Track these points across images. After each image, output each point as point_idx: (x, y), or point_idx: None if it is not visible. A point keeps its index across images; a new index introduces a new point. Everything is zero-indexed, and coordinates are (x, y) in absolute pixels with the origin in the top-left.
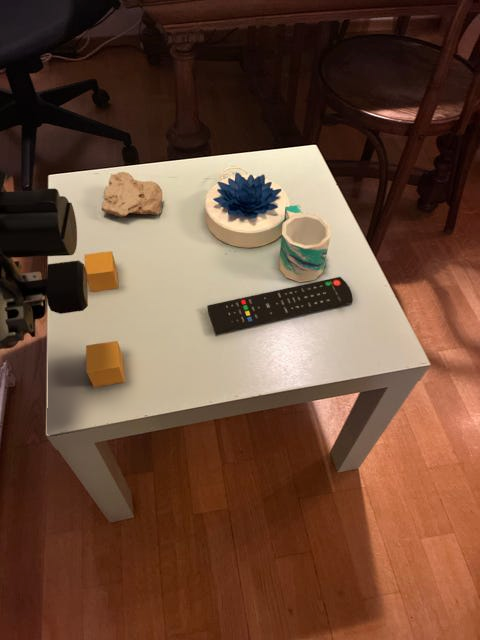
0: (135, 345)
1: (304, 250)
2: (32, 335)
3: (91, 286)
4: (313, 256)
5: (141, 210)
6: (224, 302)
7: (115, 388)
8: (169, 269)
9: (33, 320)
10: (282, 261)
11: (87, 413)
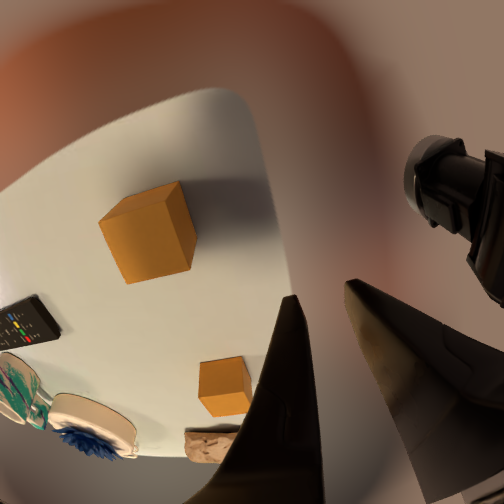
0: None
1: None
2: (291, 303)
3: (238, 367)
4: None
5: (204, 438)
6: (44, 341)
7: (135, 183)
8: (139, 383)
9: (244, 441)
10: (23, 379)
11: (176, 120)
